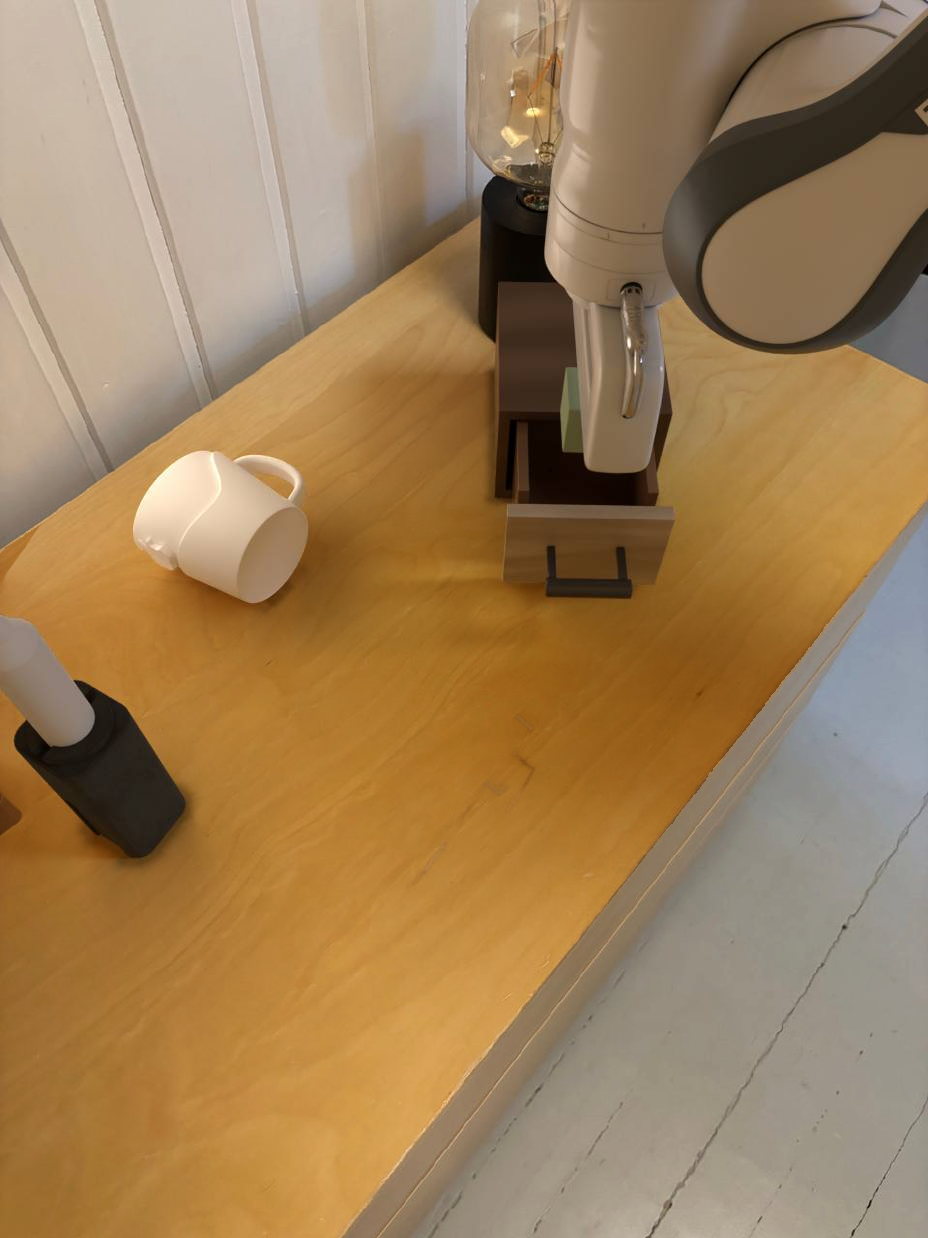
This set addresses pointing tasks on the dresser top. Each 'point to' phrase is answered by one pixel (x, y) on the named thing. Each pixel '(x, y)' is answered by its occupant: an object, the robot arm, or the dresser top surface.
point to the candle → (86, 745)
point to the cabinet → (538, 367)
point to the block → (571, 413)
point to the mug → (225, 523)
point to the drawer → (580, 520)
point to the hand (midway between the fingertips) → (594, 414)
